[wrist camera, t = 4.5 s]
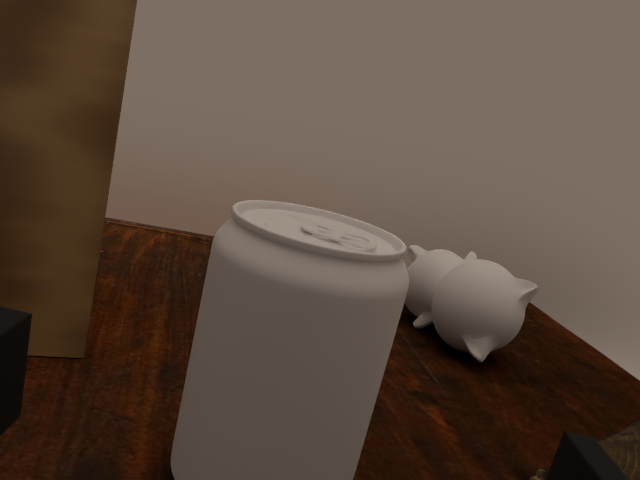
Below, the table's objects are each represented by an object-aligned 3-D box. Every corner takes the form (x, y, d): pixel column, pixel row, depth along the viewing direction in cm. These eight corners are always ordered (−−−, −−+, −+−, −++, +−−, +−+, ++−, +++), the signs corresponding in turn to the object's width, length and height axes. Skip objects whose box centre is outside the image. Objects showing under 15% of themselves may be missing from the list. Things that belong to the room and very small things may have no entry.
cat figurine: (423, 214, 50) (525, 253, 40) (475, 277, 56) (576, 325, 45) (364, 286, 49) (453, 345, 39) (423, 343, 55) (513, 406, 45)
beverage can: (216, 405, 29) (262, 190, 26) (359, 458, 27) (424, 235, 25) (129, 500, 21) (181, 209, 18) (322, 581, 20) (410, 277, 17)
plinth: (-186, 345, 26) (-174, -286, 20) (-94, 262, 37) (-68, -163, 31) (84, 358, 30) (159, -153, 24) (95, 281, 41) (149, -87, 35)
